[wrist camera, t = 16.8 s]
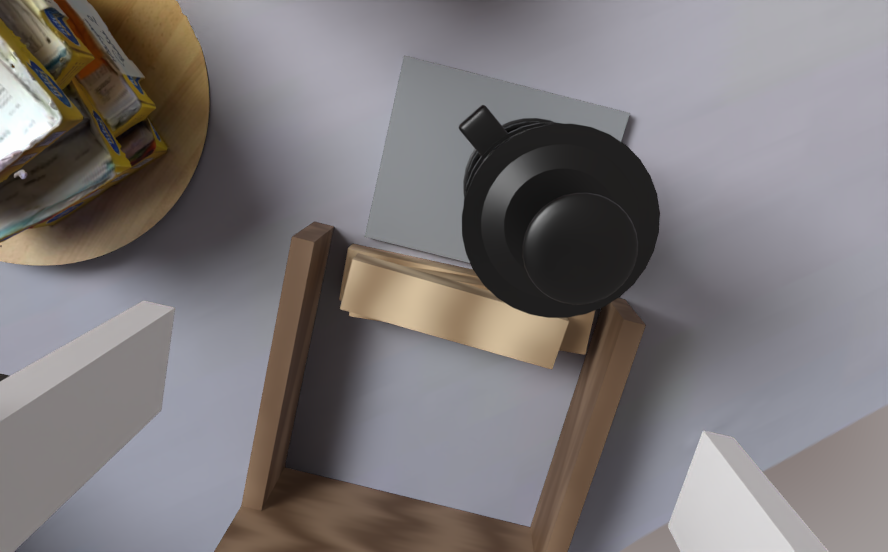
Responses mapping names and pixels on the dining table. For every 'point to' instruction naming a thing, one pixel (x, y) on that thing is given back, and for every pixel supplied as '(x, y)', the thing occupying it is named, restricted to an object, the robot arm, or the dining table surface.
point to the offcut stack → (453, 307)
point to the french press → (555, 214)
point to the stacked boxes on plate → (94, 123)
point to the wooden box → (393, 516)
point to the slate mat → (451, 149)
